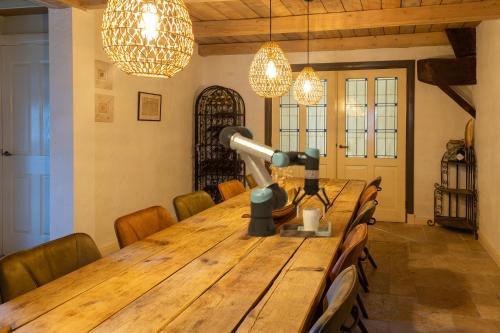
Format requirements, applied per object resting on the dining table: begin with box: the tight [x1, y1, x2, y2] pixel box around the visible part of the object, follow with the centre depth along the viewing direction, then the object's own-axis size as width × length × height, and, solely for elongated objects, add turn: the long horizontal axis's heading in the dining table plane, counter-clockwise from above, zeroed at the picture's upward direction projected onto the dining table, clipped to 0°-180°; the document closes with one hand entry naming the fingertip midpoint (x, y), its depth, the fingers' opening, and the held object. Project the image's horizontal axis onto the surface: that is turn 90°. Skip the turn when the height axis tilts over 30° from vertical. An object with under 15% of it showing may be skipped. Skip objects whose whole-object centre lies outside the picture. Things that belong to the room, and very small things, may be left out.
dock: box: [279, 223, 316, 239], centre depth 238 cm, size 18×16×3 cm
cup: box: [302, 207, 321, 232], centre depth 237 cm, size 9×9×12 cm
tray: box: [298, 219, 332, 237], centre depth 237 cm, size 17×13×6 cm
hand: (310, 217), depth 237 cm, fingers open, 13 cm apart
